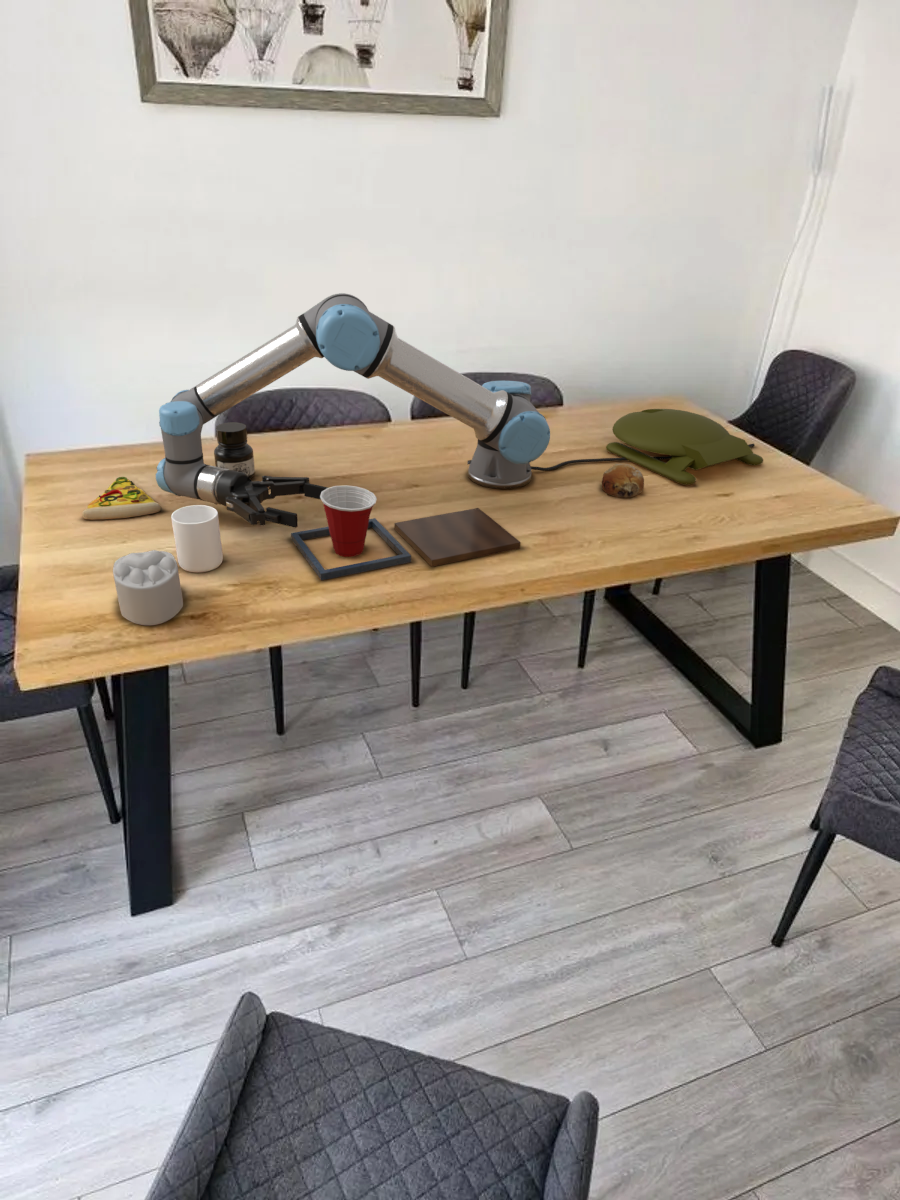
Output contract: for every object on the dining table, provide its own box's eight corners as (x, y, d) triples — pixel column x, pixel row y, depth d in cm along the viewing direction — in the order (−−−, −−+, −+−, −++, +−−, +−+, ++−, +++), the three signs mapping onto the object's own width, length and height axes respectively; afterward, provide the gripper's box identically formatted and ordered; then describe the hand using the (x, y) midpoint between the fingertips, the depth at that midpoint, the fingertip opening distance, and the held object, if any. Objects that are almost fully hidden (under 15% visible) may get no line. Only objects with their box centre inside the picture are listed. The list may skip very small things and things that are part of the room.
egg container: (179, 583, 150) (172, 541, 145) (186, 619, 139) (180, 575, 135) (118, 592, 146) (110, 549, 142) (122, 630, 136) (112, 584, 132)
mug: (168, 550, 160) (160, 502, 155) (210, 542, 164) (204, 494, 159) (185, 577, 152) (177, 527, 146) (229, 567, 155) (223, 518, 150)
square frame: (375, 524, 174) (375, 518, 173) (411, 562, 160) (411, 555, 159) (291, 539, 166) (290, 532, 166) (321, 580, 153) (321, 573, 152)
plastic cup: (368, 566, 158) (367, 509, 152) (314, 559, 159) (311, 503, 153) (383, 542, 167) (383, 487, 161) (332, 535, 169) (330, 481, 162)
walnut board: (477, 513, 180) (478, 507, 180) (520, 548, 167) (520, 541, 166) (394, 529, 172) (394, 522, 171) (431, 567, 159) (431, 560, 158)
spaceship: (766, 465, 212) (775, 429, 207) (685, 489, 197) (692, 450, 192) (665, 426, 236) (671, 392, 231) (586, 444, 221) (590, 408, 216)
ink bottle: (218, 485, 188) (212, 435, 182) (211, 471, 195) (205, 423, 189) (260, 480, 192) (256, 430, 186) (252, 466, 199) (248, 418, 193)
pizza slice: (83, 523, 169) (80, 509, 168) (86, 484, 186) (83, 472, 184) (161, 515, 174) (159, 502, 172) (158, 478, 191) (156, 466, 189)
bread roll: (642, 503, 197) (650, 470, 196) (636, 500, 188) (644, 465, 187) (602, 495, 201) (610, 462, 200) (594, 491, 191) (602, 457, 190)
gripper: (262, 483, 180) (346, 502, 173) (188, 527, 160) (281, 550, 154) (259, 451, 176) (345, 468, 170) (183, 492, 157) (278, 514, 150)
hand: (315, 507), depth 162 cm, fingers open, 13 cm apart
